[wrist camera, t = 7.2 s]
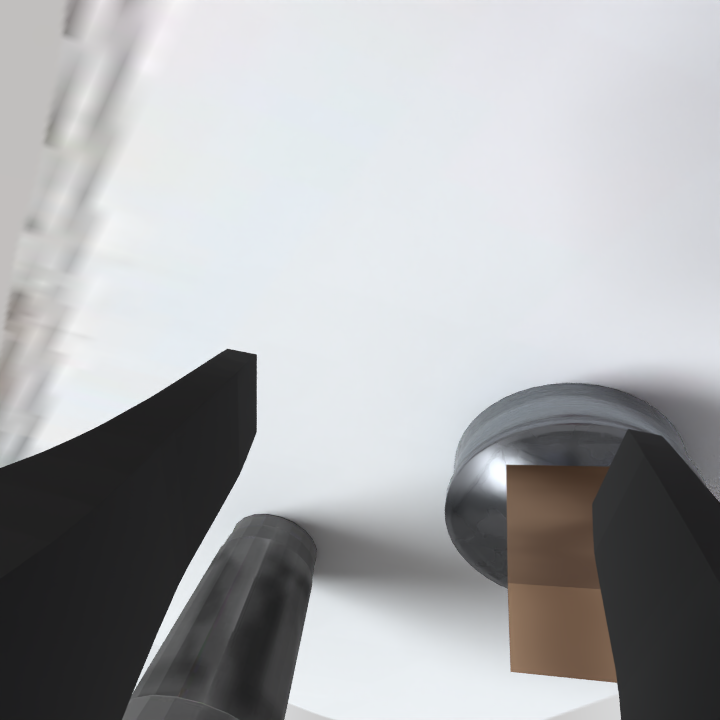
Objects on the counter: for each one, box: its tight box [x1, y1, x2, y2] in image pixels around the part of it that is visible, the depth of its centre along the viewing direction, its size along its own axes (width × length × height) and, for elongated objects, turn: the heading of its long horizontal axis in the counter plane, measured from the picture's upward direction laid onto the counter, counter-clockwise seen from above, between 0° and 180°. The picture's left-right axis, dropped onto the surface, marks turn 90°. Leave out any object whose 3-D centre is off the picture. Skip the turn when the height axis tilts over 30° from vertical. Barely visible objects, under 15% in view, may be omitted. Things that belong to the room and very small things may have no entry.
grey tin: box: [445, 383, 706, 588], centre depth 23 cm, size 9×9×3 cm
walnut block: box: [506, 465, 617, 683], centre depth 20 cm, size 4×4×5 cm
